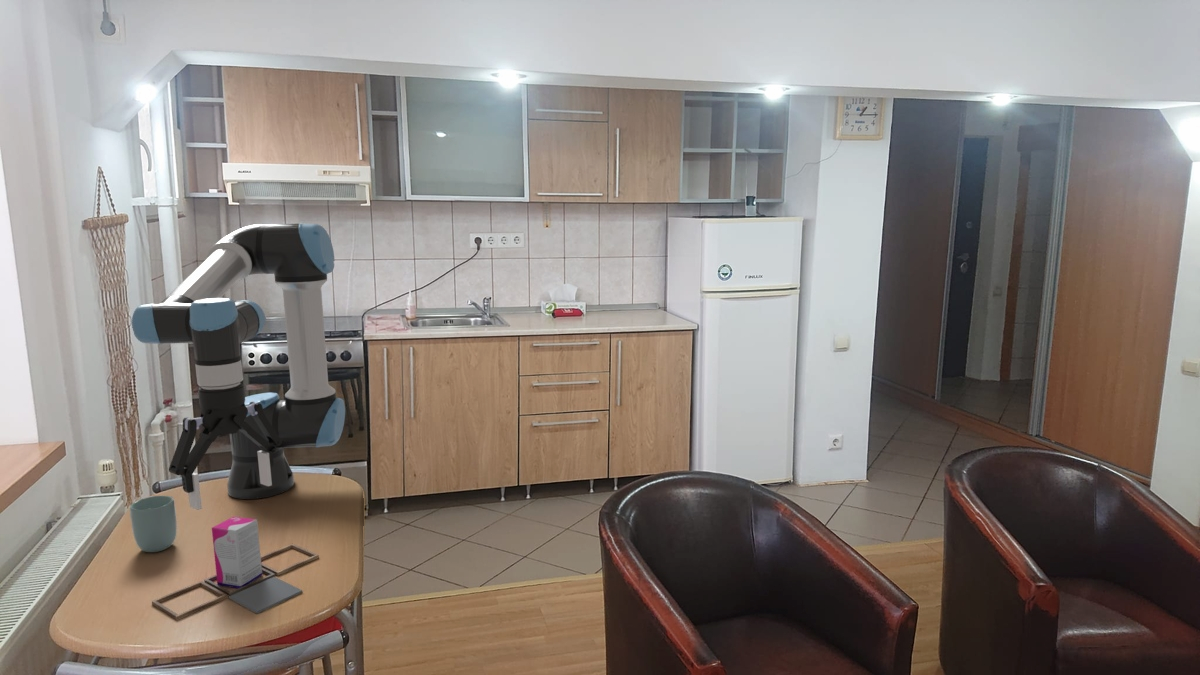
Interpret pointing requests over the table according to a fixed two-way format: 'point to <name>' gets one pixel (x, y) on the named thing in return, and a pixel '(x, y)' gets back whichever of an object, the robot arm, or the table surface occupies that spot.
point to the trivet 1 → (178, 616)
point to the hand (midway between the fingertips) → (232, 495)
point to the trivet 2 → (314, 556)
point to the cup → (154, 523)
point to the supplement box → (237, 552)
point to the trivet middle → (229, 593)
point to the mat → (265, 594)
